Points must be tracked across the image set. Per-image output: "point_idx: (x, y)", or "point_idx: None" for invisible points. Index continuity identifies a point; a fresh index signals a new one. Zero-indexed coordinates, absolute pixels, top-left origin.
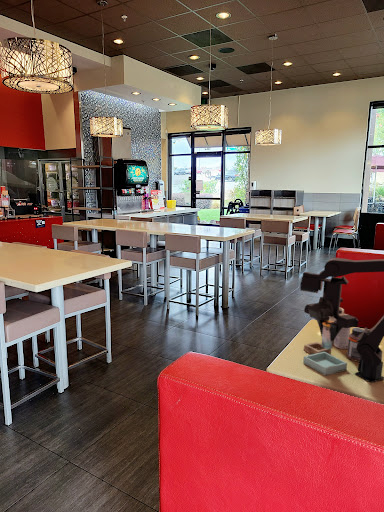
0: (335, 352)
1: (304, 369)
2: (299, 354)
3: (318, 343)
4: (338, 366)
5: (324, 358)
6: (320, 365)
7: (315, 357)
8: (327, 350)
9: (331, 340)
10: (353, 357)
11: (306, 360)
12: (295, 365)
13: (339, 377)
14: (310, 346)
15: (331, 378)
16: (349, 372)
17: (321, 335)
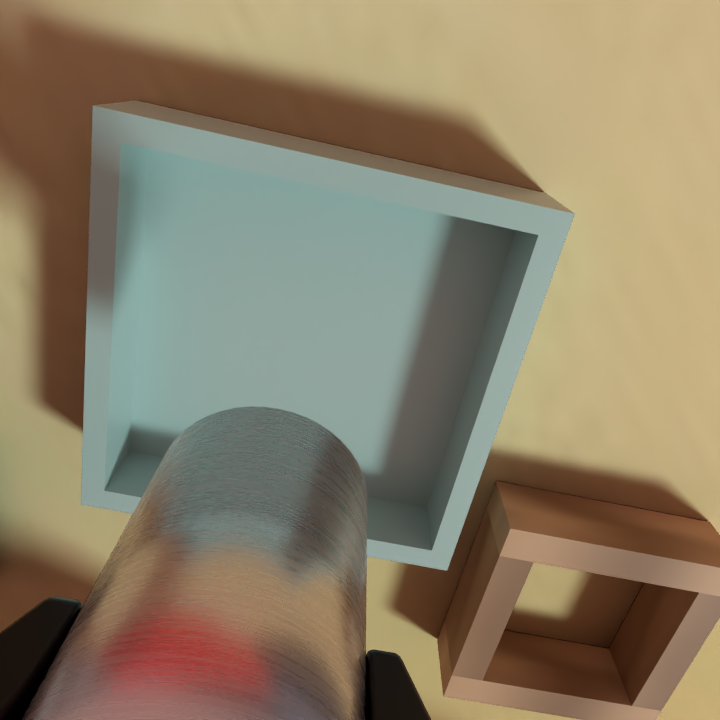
0: (427, 695)
1: (428, 15)
2: (703, 385)
3: (620, 707)
4: (92, 358)
5: (406, 489)
6: (216, 136)
7: (471, 396)
8: (459, 640)
9: (46, 602)
10: None
11: (502, 190)
12: (592, 18)
13: (17, 215)
14: (659, 584)
15: (42, 95)
16: (57, 423)
17: (406, 673)
